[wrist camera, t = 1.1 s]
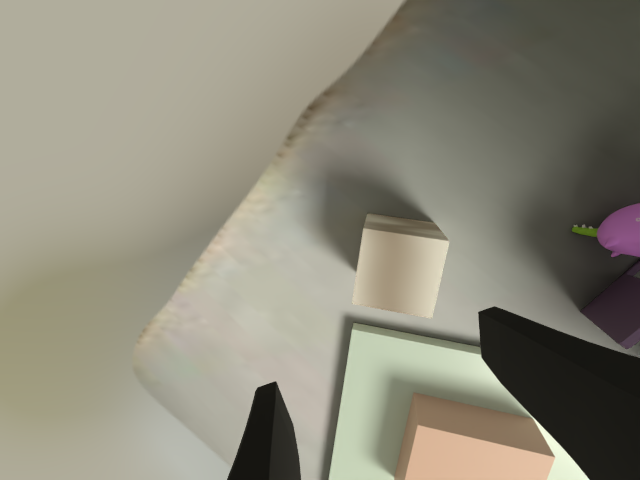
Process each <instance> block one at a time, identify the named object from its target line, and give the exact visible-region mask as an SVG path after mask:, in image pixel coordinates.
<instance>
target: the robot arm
mask: <svg viewBox="0 0 640 480" xmlns="http://www.w3.org/2000/svg"><path fill="white" fill-rule="evenodd" d="M478 314H479V329H480V344H481V358H482V359H483V360H484V362H485V363H486V364H487V366H488V367H489V369H490V370H491V371H492V373H493V374H494V375H495V376H496V378H497V379H498V380H499V381H500V383H501V384H502V385H503V386H504V387H505V388H506V389H507V390H508V392H509V393H510V394H511V395H512V396H513V397H514V398H515V399H516V400H517V401H518V402H519V403H520V404H521V405H522V406H523V407H524V408H525V409H526V410H527V411H528V412H529V414H530V415H531V416H532V417H533V418H534V419H535V420H536V421H537V422H538V423H539V424H540V425H541V426H542V427H543V428H544V429H545V430H546V431H547V432H548V433H549V434H550V435H551V436H552V437H553V438H554V439H555V440H556V441H557V443H558V444H559V445H560V446H561V447H562V448H563V449H564V450H565V451H566V452H567V453H568V455H569V456H570V457H571V458H572V459H573V460H574V461H575V463H576V464H577V465H578V466H579V467H580V469H581V470H582V471H583V472H584V474H585V475H586V476H587V477H588V478H589V480H640V358H638V357H634V356H631V355H628V354H624V353H621V352H618V351H615V350H612V349H608V348H605V347H602V346H599V345H596V344H593V343H590V342H587V341H585V340H582V339H579V338H576V337H573V336H571V335H568V334H565V333H563V332H560V331H557V330H555V329H552V328H549V327H547V326H544V325H542V324H539V323H536V322H534V321H531V320H529V319H526V318H524V317H521V316H519V315H516V314H514V313H511V312H508V311H506V310H503V309H500V308H497V307H492V308H489V309H486V310H483V311H480V312H478ZM227 480H301V475H300V463H299V455H298V449H297V443H296V438H295V432H294V427H293V423H292V421H291V418H290V416H289V413H288V411H287V408H286V405H285V403H284V400H283V398H282V395H281V393H280V390H279V388H278V385H277V382H276V381H275V382H272V383H269V384H266V385H264V386H261V387H258V388H257V390H256V391H255V396H254V400H253V403H252V407H251V411H250V414H249V418H248V421H247V425H246V428H245V431H244V434H243V437H242V440H241V443H240V446H239V449H238V452H237V455H236V458H235V460H234V463H233V466H232V468H231V471H230V473H229V476H228V479H227Z"/></svg>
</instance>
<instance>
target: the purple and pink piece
mask: <svg viewBox="0 0 640 480" xmlns="http://www.w3.org/2000/svg"><path fill="white" fill-rule="evenodd" d="M572 232H575V233H578V234H581V235H587V236H592V237H597V238H598V241H599V242H600V244H601V245H602V246H603V247H605V248H606V249H609V250H611V251H613V252H612V254H611V257H616V256H618V255H620V254H626V255H632V256H637V257H640V203H638V204H634V205H630V206H627V207H624V208H621V209H619V210H617V211H615V212H614V213H612V214H611V215H609V216H608V217H607V218H606V219H605V220H604V221H603V222H602V224H601V225H600V227H599V228H596V229H594V228H593V227H592V226H591V227H589V228H586V227H585V224H584V225H583V224H582V227H578V225H577V224H576V225H574V227H573V228H572ZM638 271H640V260H639V261H638V262H637V263H635V264H634V265H633V266H632V267H631V268H630V269H629V270H627V271H626V272H625V273H624V274H623V275H622V276H620V277H619V278H618V279H617V280H616V281H615V282H614V283H612V284H611V285H610V286H609V287H608V288H607V289H605V290H604V291H603V292H602V293H601V294H600V295H599V296H597V297H596V298H595V299H594V300H593V301H592V302H591V303H589V304H588V305H587V306H586V307H585V308H584V309H582V310H581V311H580V312H581V313H582V314H584V315H585V316H586V317H587V318H588V319H590V320H591V321H592V322H593V323H594V324H596V325H597V326H598V327H599V328H600V329H601V330H603V331H604V332H605V333H606V334H607V335H609V336H610V337H611V338H612V339H613V340H615V341H616V342H617V343H618V344H620V345H621V346H622V347H624V348H625V349H629V348H631V347H632V346H633V345H635V344H636V343H637V342H639V341H640V279H639V278H636V277H633V276H634V275H635V274H636V273H637V272H638Z"/></svg>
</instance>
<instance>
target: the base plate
mask: <svg viewBox="0 0 640 480" xmlns="http://www.w3.org/2000/svg"><path fill="white" fill-rule="evenodd" d="M413 392H414V393H419V394H424V395H428V396H433V397H437V398H442V399H446V400H451V401H455V402H460V403H464V404H469V405H473V406H478V407H482V408H487V409H491V410H496V411H501V412H505V413H510V414H514V415H519V416H523V417H528V418H532V419H534V418H533V417H532V416H531V415H530V414H529V412H528V411H527V410H526V409H525V408H524V407H523V406H522V405H521V404H520V403H519V402H518V401H517V400H516V399H515V398H514V397H513V396H512V395H511V394H510V393H509V392H508V390H507V389H506V388H505V387H504V386H503V385H502V384H501V383H500V381H499V380H498V379H497V378H496V376H495V375H494V374H493V373H492V371H491V370H490V369H489V367H488V366H487V364H486V363H485V362H484V360H483V359H482V358H481V347H477V346H472V345H466V344H461V343H456V342H451V341H446V340H441V339H436V338H431V337H425V336H420V335H415V334H410V333H405V332H400V331H395V330H389V329H384V328H379V327H374V326H369V325H364V324H359V323H353V327H352V333H351V340H350V346H349V353H348V359H347V365H346V372H345V378H344V385H343V391H342V397H341V404H340V410H339V417H338V423H337V430H336V436H335V442H334V449H333V455H332V462H331V468H330V474H329V480H394V476H395V472H396V468H397V463H398V459H399V454H400V450H401V445H402V441H403V436H404V432H405V428H406V423H407V419H408V414H409V410H410V405H411V401H412V397H413ZM534 421H535V423H536V425H537V426H538V428H539V430H540V431H541V433H542V435H543V437H544V438H545V440H546V442H547V444H548V445H549V447H550V449H551V451H552V452H553V454H554V456H555V460H554V462H553V465H552V468H551V470H550V473H549V475H548V478H547V480H589V478H588V477H587V476H586V475H585V474H584V472H583V471H582V470H581V469H580V467H579V466H578V465H577V464H576V463H575V461H574V460H573V459H572V458H571V457H570V456H569V455H568V453H567V452H566V451H565V450H564V449H563V448H562V447H561V446H560V445H559V444H558V443H557V441H556V440H555V439H554V438H553V437H552V436H551V435H550V434H549V433H548V432H547V431H546V430H545V429H544V428H543V427H542V426H541V425H540V424H539V423H538V422H537V421H536V420H535V419H534Z"/></svg>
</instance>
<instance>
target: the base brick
mask: <svg viewBox="0 0 640 480" xmlns="http://www.w3.org/2000/svg"><path fill="white" fill-rule="evenodd" d="M554 460H555V456H554V454H553V452H552V451H551V449H550V447H549V445H548V444H547V442H546V440H545V438H544V437H543V435H542V433H541V431H540V430H539V428H538V426H537V425H536V423H535V421H534V419H532V418H528V417H523V416H519V415H514V414H510V413H505V412H501V411H496V410H491V409H487V408H482V407H478V406H473V405H469V404H464V403H460V402H455V401H451V400H446V399H442V398H437V397H433V396H428V395H424V394H419V393H414V392H413V397H412V401H411V405H410V410H409V414H408V419H407V423H406V428H405V432H404V436H403V441H402V445H401V450H400V454H399V459H398V463H397V468H396V472H395V476H394V480H547V478H548V475H549V473H550V470H551V468H552V465H553V462H554Z"/></svg>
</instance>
